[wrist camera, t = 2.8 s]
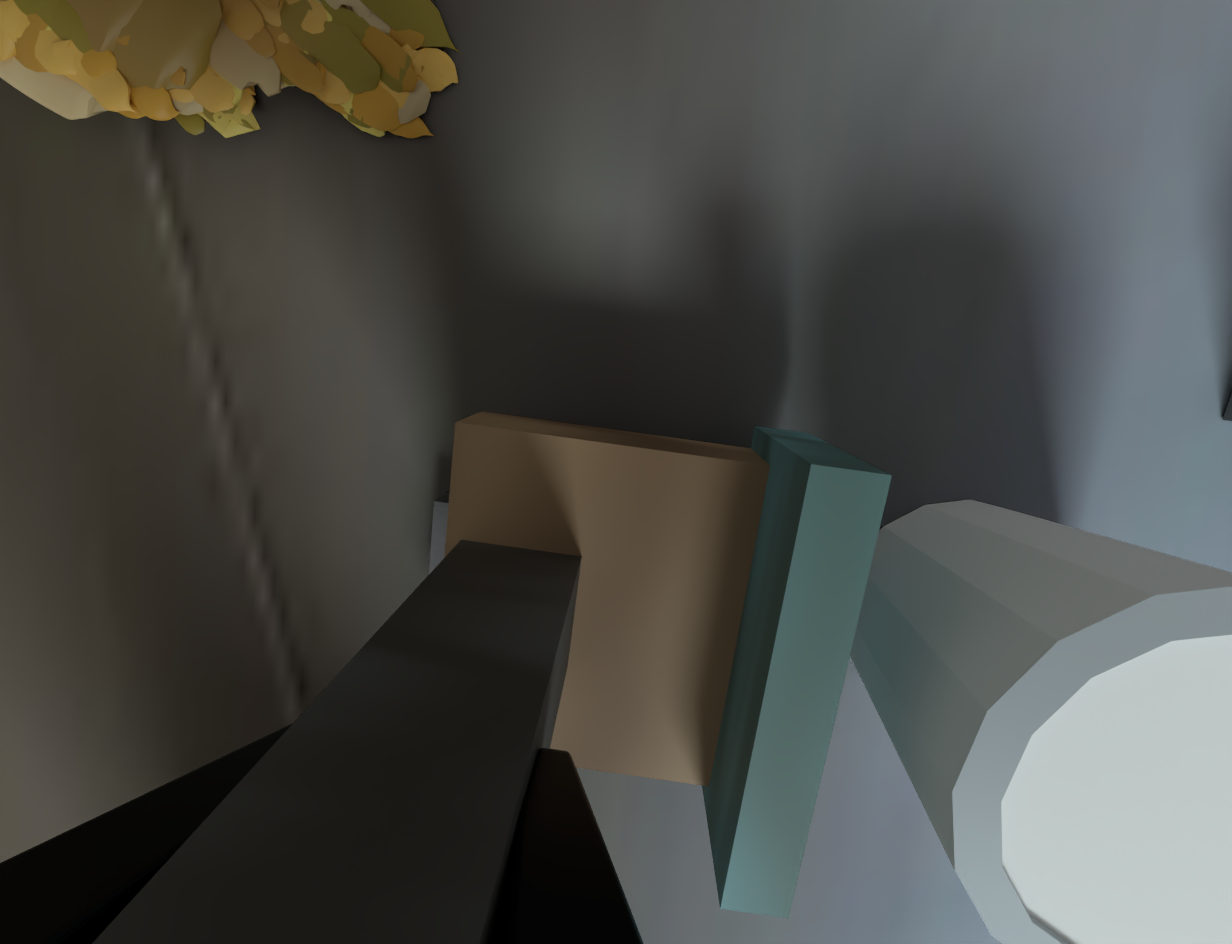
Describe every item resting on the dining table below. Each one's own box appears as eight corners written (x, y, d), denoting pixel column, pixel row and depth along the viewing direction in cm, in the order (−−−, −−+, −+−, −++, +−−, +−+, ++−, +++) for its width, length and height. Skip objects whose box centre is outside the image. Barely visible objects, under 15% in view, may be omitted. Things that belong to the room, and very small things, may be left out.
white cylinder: (832, 465, 15) (1002, 569, 8) (1119, 484, 15) (1548, 605, 8) (798, 717, 16) (917, 992, 9) (1060, 736, 16) (1378, 1030, 9)
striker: (455, 712, 15) (-16, 1657, 4) (483, 388, 13) (-180, 568, 2) (744, 752, 15) (1026, 1817, 4) (808, 433, 13) (1561, 813, 2)
